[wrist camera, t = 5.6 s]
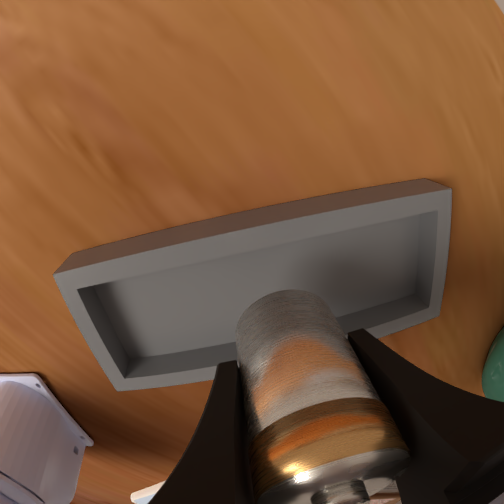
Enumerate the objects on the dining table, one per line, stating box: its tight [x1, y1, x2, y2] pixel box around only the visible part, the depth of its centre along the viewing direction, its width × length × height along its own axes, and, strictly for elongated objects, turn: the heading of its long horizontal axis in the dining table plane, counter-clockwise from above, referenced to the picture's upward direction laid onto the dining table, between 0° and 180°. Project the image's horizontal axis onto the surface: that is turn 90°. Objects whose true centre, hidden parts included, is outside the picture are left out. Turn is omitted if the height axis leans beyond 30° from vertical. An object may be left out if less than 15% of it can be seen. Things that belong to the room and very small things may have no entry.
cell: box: [235, 289, 411, 504], centre depth 9 cm, size 4×4×8 cm
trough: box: [53, 178, 452, 391], centre depth 15 cm, size 8×20×2 cm, turn 101°
